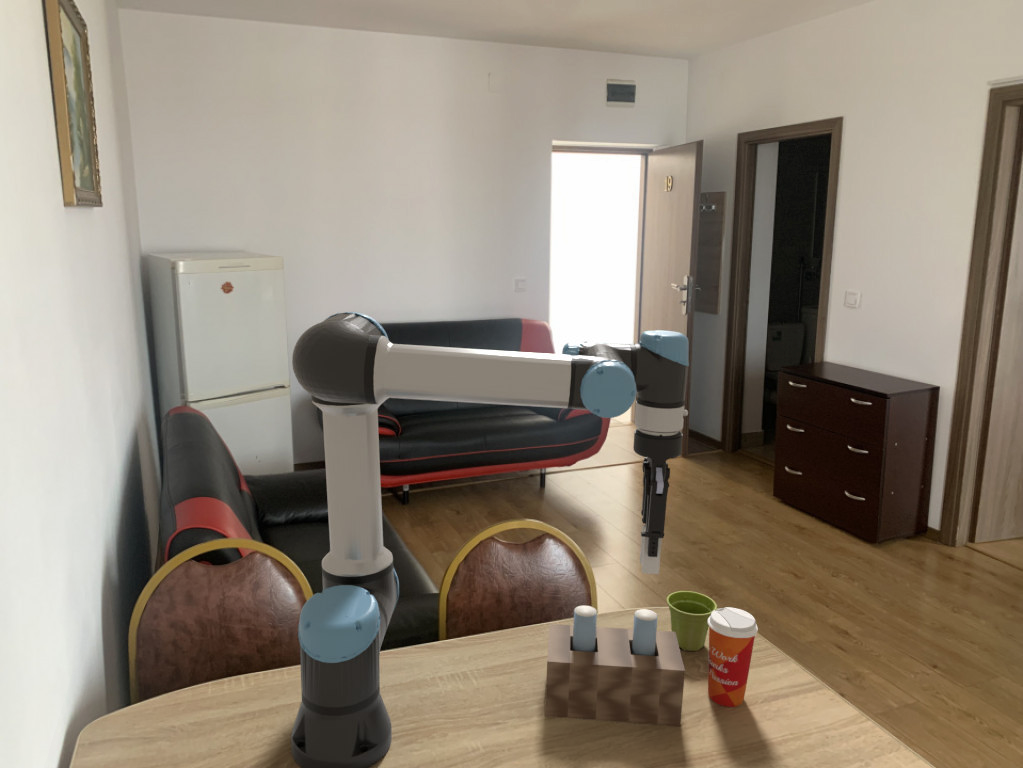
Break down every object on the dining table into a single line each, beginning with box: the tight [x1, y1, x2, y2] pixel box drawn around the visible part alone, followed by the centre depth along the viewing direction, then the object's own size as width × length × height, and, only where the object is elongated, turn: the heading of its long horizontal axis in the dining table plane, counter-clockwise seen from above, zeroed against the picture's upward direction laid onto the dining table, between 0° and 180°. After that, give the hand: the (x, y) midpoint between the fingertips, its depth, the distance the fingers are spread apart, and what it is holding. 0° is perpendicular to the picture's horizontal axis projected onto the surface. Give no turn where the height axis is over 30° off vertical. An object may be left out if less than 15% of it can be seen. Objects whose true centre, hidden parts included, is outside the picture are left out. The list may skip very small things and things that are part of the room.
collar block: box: [544, 623, 686, 727], centre depth 131 cm, size 22×12×10 cm, turn 86°
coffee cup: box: [707, 606, 759, 708], centre depth 132 cm, size 8×8×15 cm
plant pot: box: [666, 590, 718, 652], centre depth 150 cm, size 9×9×9 cm
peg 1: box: [572, 605, 598, 652], centre depth 130 cm, size 4×4×10 cm
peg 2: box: [632, 608, 658, 656], centre depth 130 cm, size 4×4×10 cm
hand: (649, 567), depth 127 cm, fingers open, 3 cm apart
